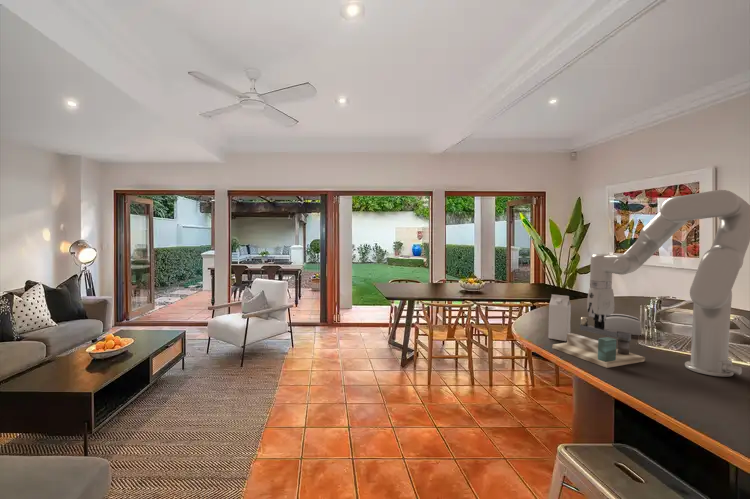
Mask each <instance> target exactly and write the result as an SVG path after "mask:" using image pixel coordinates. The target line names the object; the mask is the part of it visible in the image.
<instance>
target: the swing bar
mask: <svg viewBox="0 0 750 499" xmlns="http://www.w3.org/2000/svg"><path fill="white" fill-rule="evenodd" d="M579 330H580V331H584V332H589V333H592V334H598V335H602V336H606V337H610V338H614V339H616V341H618V340H619V341H624V342H629V343H630V342H631V341H632V335H631V332H628V331H614V330H609V329H605V328H600V327H595V326H593V325H589V317H587V316H581V317H580V324H579Z"/></svg>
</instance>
